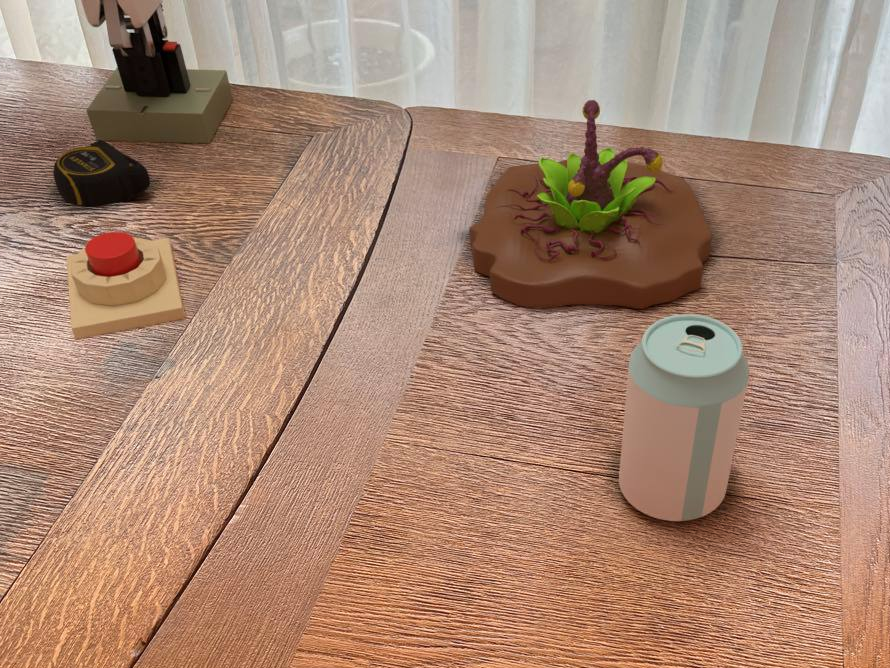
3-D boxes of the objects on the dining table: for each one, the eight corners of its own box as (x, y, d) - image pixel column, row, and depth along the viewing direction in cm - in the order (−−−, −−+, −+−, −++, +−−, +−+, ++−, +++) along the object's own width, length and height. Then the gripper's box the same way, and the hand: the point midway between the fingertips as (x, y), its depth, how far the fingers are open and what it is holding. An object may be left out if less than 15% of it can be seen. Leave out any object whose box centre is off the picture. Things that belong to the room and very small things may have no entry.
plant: (699, 183, 94) (715, 58, 85) (717, 313, 81) (738, 181, 72) (480, 179, 94) (474, 54, 86) (462, 307, 81) (454, 176, 73)
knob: (124, 91, 98) (110, 46, 95) (129, 84, 100) (116, 39, 96) (186, 93, 98) (174, 48, 95) (191, 85, 99) (179, 40, 96)
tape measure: (159, 198, 92) (147, 159, 89) (89, 228, 88) (74, 188, 86) (118, 170, 95) (106, 131, 92) (49, 198, 91) (34, 159, 89)
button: (91, 256, 79) (83, 236, 78) (139, 247, 80) (132, 228, 79) (93, 282, 77) (86, 262, 76) (143, 273, 78) (136, 253, 76)
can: (606, 460, 70) (616, 314, 61) (704, 445, 71) (729, 299, 62) (635, 536, 65) (651, 391, 56) (740, 518, 66) (772, 372, 57)
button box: (75, 278, 83) (58, 235, 80) (175, 260, 85) (162, 217, 82) (81, 352, 77) (62, 308, 74) (189, 331, 79) (176, 287, 76)
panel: (93, 143, 98) (82, 111, 96) (127, 94, 105) (118, 62, 102) (208, 147, 98) (199, 114, 95) (234, 97, 104) (227, 65, 102)
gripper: (85, -161, 90) (144, 52, 104) (15, -100, 80) (91, 128, 94) (169, -159, 90) (218, 54, 104) (110, -98, 80) (173, 130, 94)
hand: (157, 87), depth 99 cm, fingers closed
